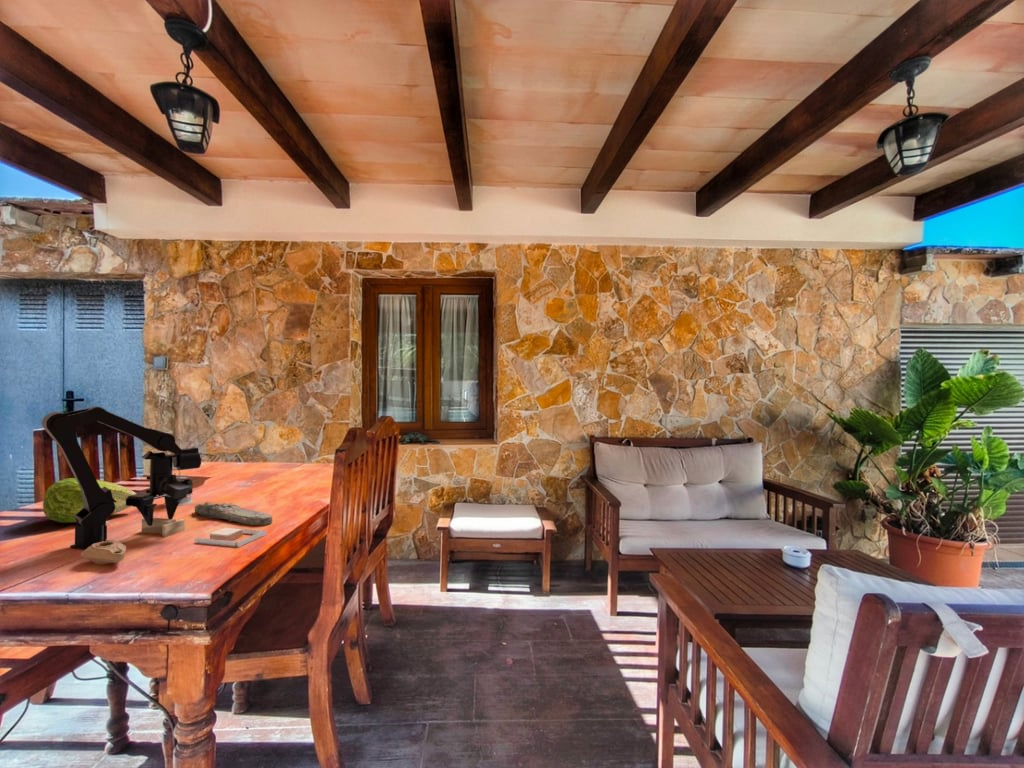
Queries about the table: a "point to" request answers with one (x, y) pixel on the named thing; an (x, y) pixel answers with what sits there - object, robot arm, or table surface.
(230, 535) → the tile
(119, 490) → the lettuce
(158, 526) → the pusher
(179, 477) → the french press
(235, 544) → the bay
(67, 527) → the table surface
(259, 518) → the elongated rock
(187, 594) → the table surface
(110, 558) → the pottery oil lamp
